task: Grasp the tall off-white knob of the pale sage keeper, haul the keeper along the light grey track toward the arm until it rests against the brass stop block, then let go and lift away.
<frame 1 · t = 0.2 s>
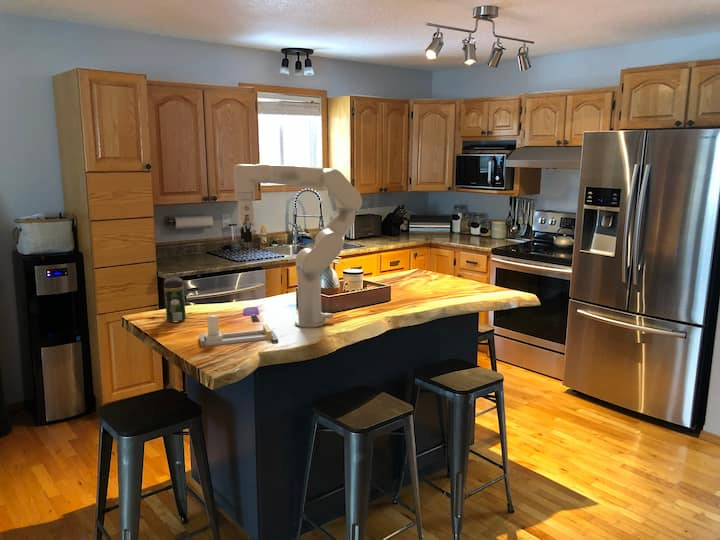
hand: (246, 240, 231), 36 cm above the table, tool pointing down, fingers open, 9 cm apart
coffee jar: (176, 320, 254), on the table
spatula: (253, 319, 255), on the table
keeper: (213, 328, 219), point 6 cm above the table, slide at 0.0 cm
track: (238, 341, 223), on the table
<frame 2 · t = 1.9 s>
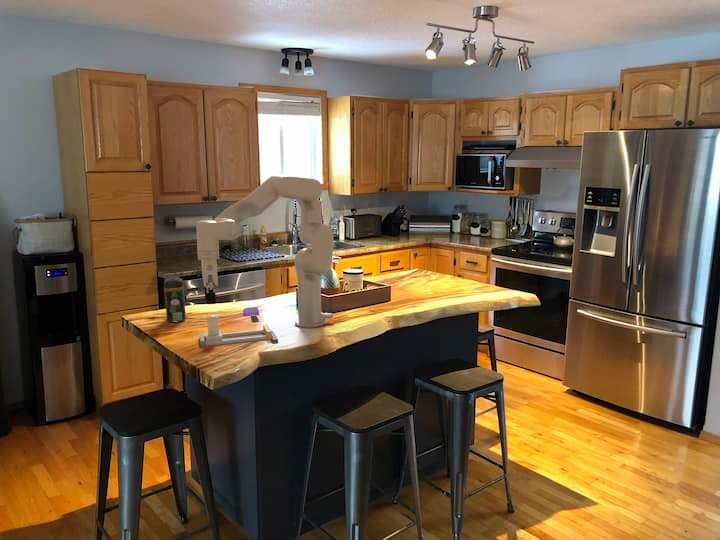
hand: (210, 300, 217), 17 cm above the table, tool pointing down, fingers open, 9 cm apart
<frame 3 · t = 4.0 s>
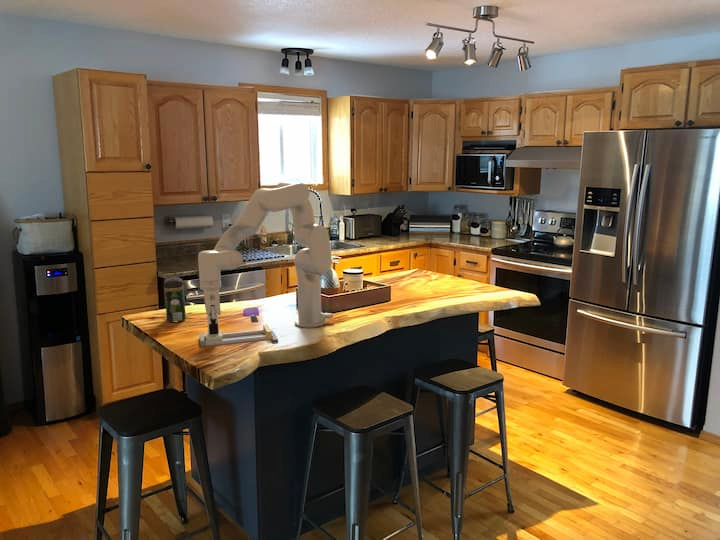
hand: (213, 331, 219), 5 cm above the table, tool pointing down, fingers closed on keeper, 4 cm apart
keeper: (213, 328, 219), point 6 cm above the table, slide at 0.0 cm, touching gripper
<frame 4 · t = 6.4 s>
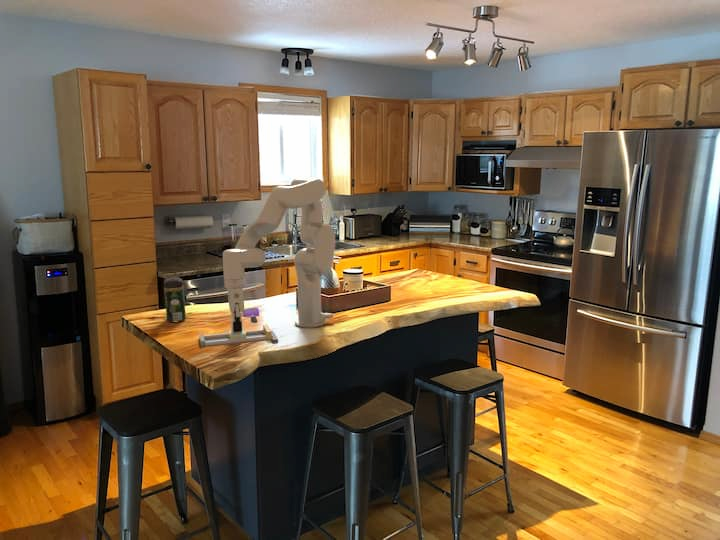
hand: (237, 329, 222), 5 cm above the table, tool pointing down, fingers closed on keeper, 4 cm apart
keeper: (236, 326, 222), point 6 cm above the table, slide at 8.6 cm, touching gripper
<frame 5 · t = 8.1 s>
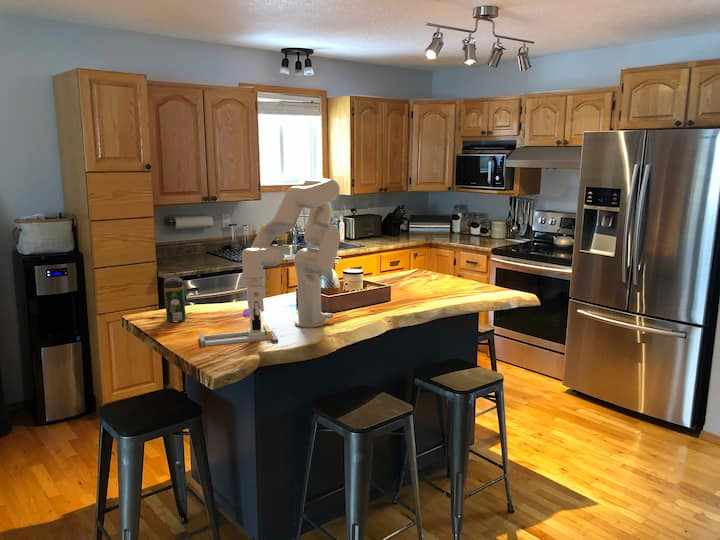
hand: (255, 327, 224), 5 cm above the table, tool pointing down, fingers closed on keeper, 4 cm apart
keeper: (255, 324, 224), point 6 cm above the table, slide at 15.7 cm, touching gripper
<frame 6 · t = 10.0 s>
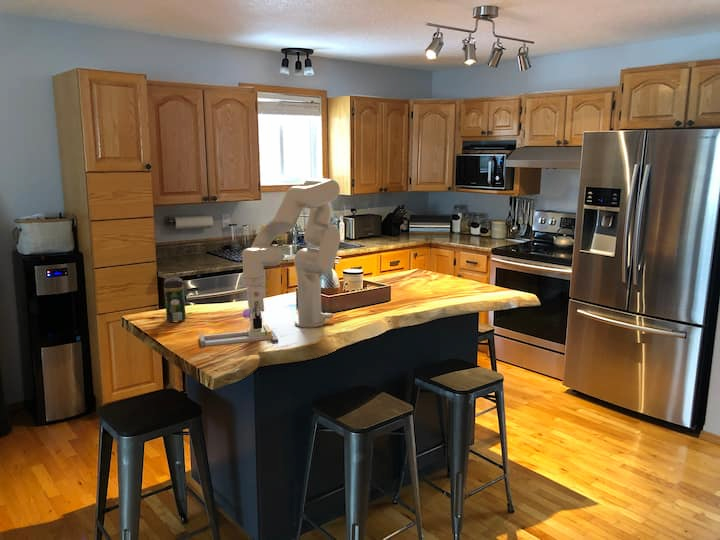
hand: (255, 325, 224), 6 cm above the table, tool pointing down, fingers open, 9 cm apart
keeper: (255, 324, 224), point 6 cm above the table, slide at 15.8 cm
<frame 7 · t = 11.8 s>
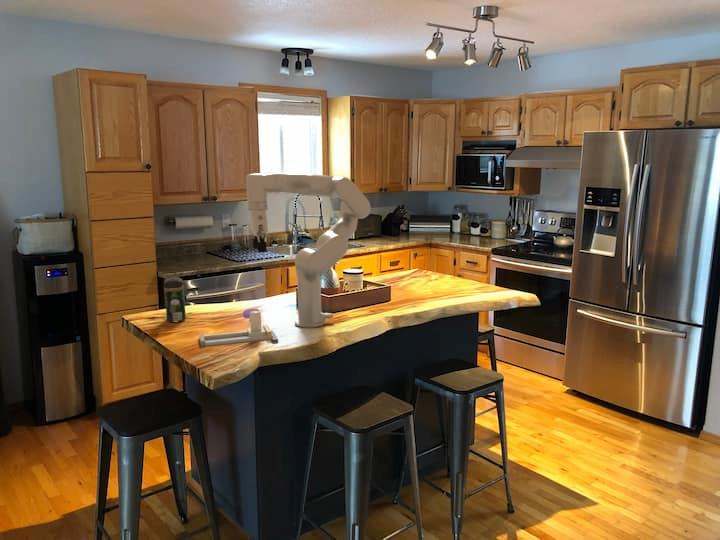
hand: (260, 250, 230), 33 cm above the table, tool pointing down, fingers open, 9 cm apart
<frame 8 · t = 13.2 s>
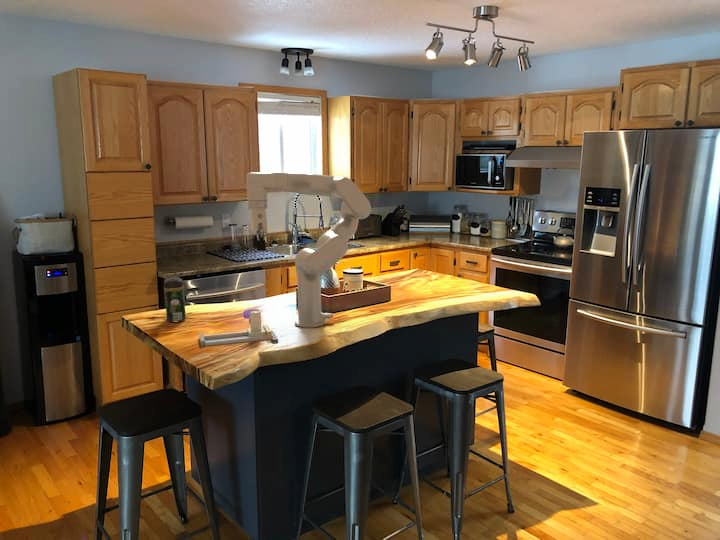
hand: (259, 248, 230), 33 cm above the table, tool pointing down, fingers open, 9 cm apart
at the end: keeper slide at 15.8 cm; the gripper is holding nothing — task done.
